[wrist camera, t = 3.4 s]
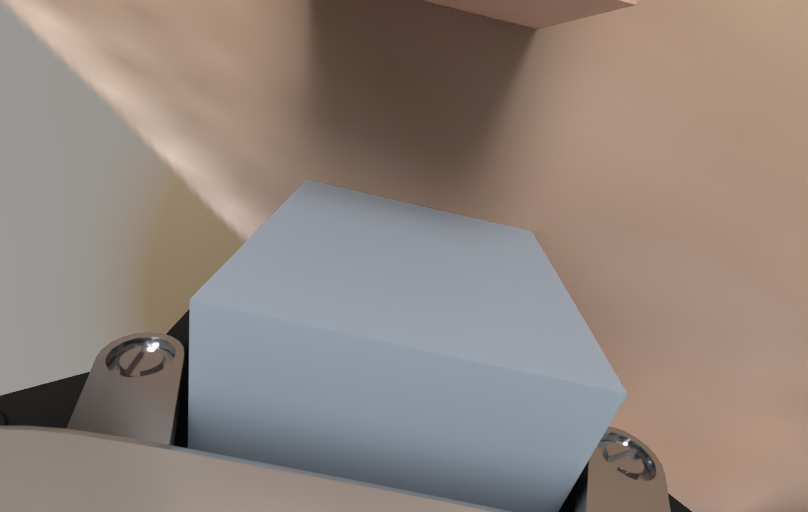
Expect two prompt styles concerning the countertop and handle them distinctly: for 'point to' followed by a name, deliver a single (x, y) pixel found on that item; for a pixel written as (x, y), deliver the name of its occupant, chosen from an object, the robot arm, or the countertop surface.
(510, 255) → the slate block
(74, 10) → the countertop surface
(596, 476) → the robot arm
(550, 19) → the terracotta cube
